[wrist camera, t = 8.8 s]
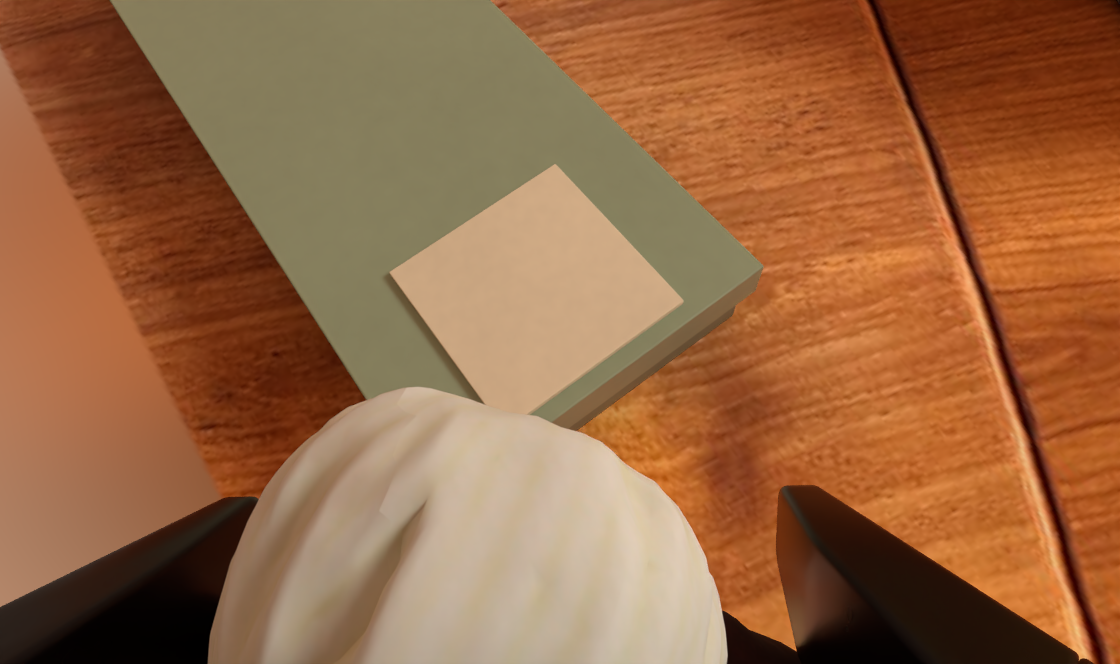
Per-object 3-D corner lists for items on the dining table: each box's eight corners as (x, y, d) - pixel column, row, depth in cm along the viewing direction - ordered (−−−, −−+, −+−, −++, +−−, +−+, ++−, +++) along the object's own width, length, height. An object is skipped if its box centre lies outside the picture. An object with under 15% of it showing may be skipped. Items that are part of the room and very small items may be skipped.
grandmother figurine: (739, 544, 15) (1114, 180, 4) (774, 749, 14) (1632, 1213, 2) (388, 571, 16) (-255, 309, 4) (380, 776, 14) (-742, 1305, 2)
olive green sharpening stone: (743, 325, 23) (766, 262, 19) (468, 531, 21) (432, 505, 18) (307, -126, 35) (268, -220, 32) (106, -21, 34) (39, -107, 30)
